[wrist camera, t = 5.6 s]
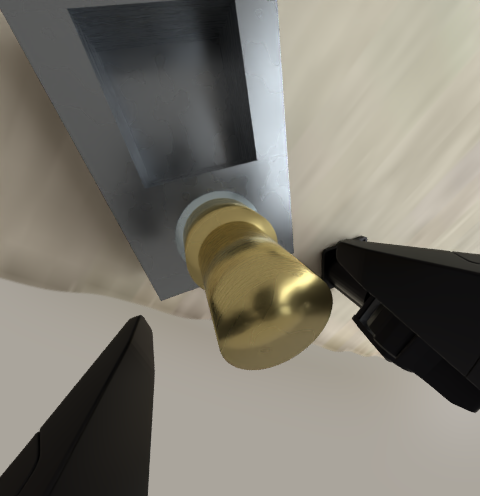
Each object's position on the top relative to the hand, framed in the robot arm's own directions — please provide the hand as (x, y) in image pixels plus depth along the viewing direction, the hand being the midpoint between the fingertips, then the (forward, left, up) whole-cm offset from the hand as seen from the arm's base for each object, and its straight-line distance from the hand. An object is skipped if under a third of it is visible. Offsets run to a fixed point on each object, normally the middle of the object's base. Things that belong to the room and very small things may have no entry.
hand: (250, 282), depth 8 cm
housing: (+5, 0, -11) cm, 12 cm away
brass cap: (0, 0, -6) cm, 6 cm away
